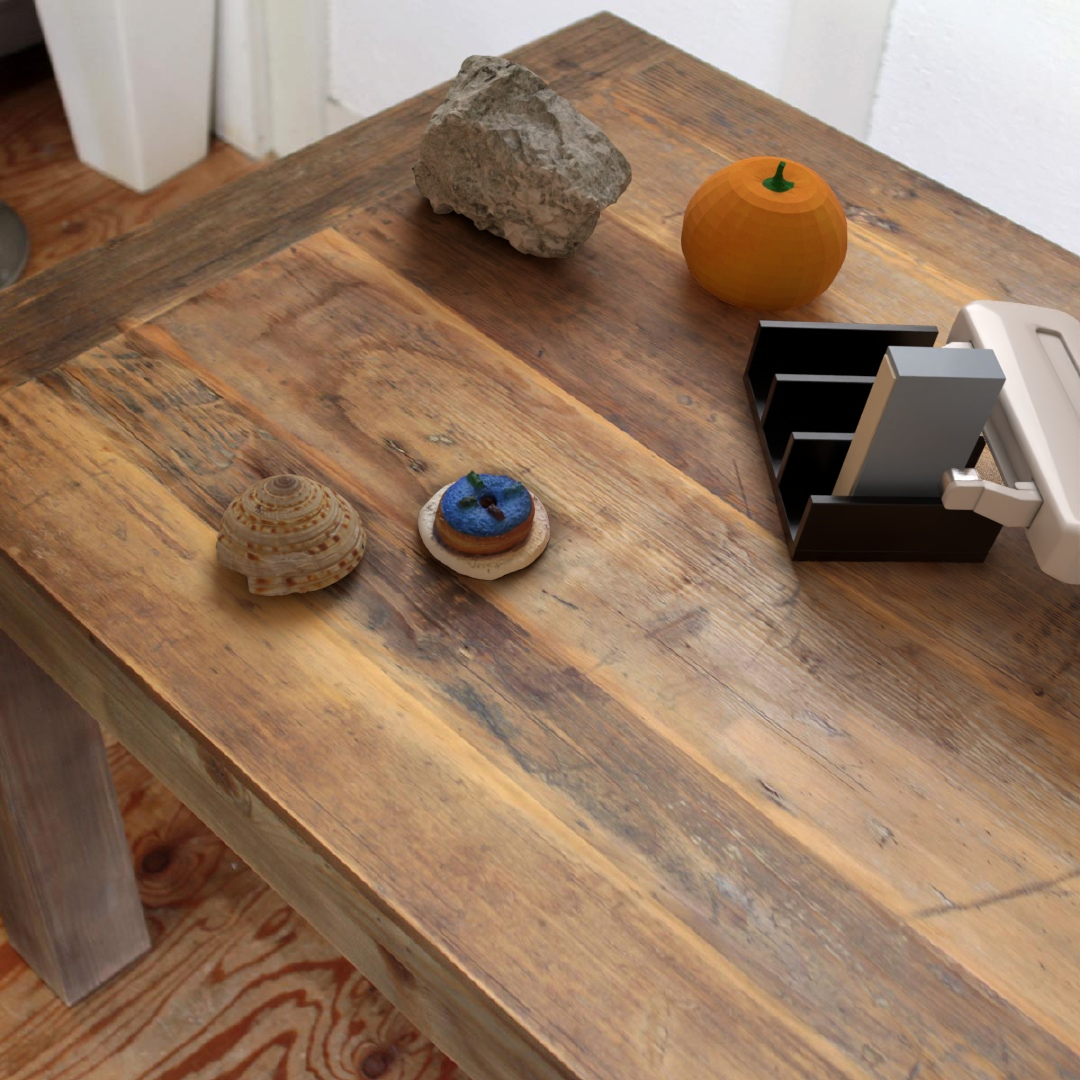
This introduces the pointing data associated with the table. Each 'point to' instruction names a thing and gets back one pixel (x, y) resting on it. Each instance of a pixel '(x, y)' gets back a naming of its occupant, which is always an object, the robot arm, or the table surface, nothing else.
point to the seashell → (290, 536)
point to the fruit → (765, 234)
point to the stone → (518, 159)
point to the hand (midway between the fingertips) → (920, 428)
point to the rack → (844, 448)
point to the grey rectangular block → (920, 420)
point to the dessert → (484, 526)
